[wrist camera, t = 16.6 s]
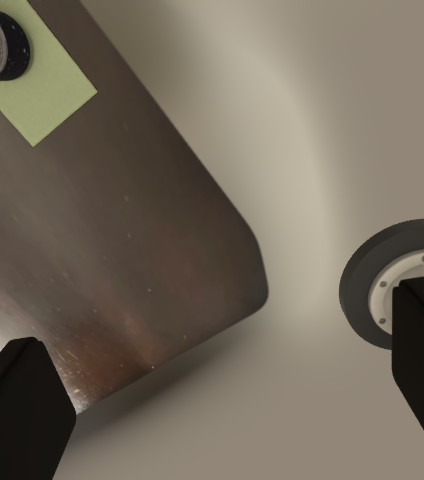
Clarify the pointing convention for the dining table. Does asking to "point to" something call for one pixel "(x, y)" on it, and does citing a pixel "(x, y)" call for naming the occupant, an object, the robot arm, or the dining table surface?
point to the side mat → (42, 79)
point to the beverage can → (12, 49)
